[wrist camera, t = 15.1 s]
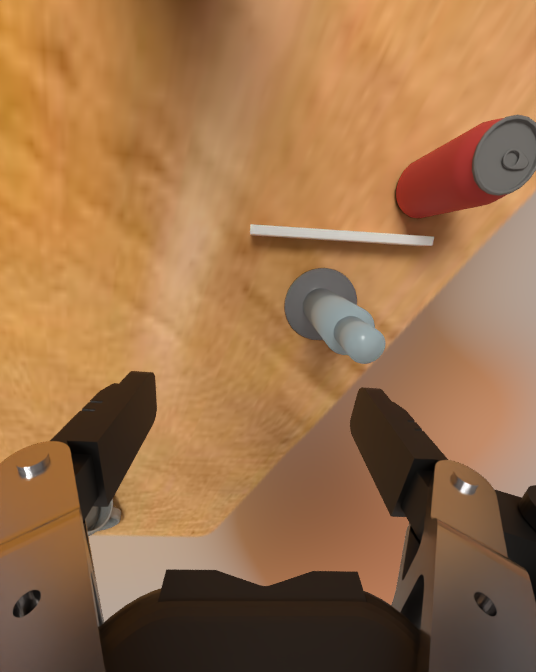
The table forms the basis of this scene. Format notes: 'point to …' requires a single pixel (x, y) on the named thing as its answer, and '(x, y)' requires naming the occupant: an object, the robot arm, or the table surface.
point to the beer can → (470, 169)
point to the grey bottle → (344, 326)
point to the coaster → (307, 284)
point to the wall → (340, 235)
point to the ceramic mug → (102, 518)
